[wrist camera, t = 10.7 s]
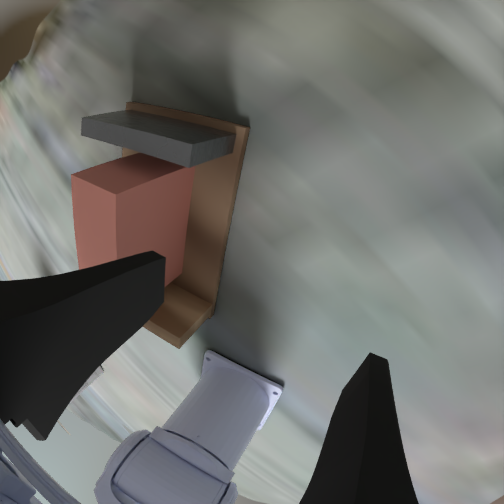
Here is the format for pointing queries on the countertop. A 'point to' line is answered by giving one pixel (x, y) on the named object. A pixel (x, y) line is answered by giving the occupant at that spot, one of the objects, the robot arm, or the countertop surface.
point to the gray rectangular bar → (160, 136)
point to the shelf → (199, 233)
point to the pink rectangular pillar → (132, 211)
